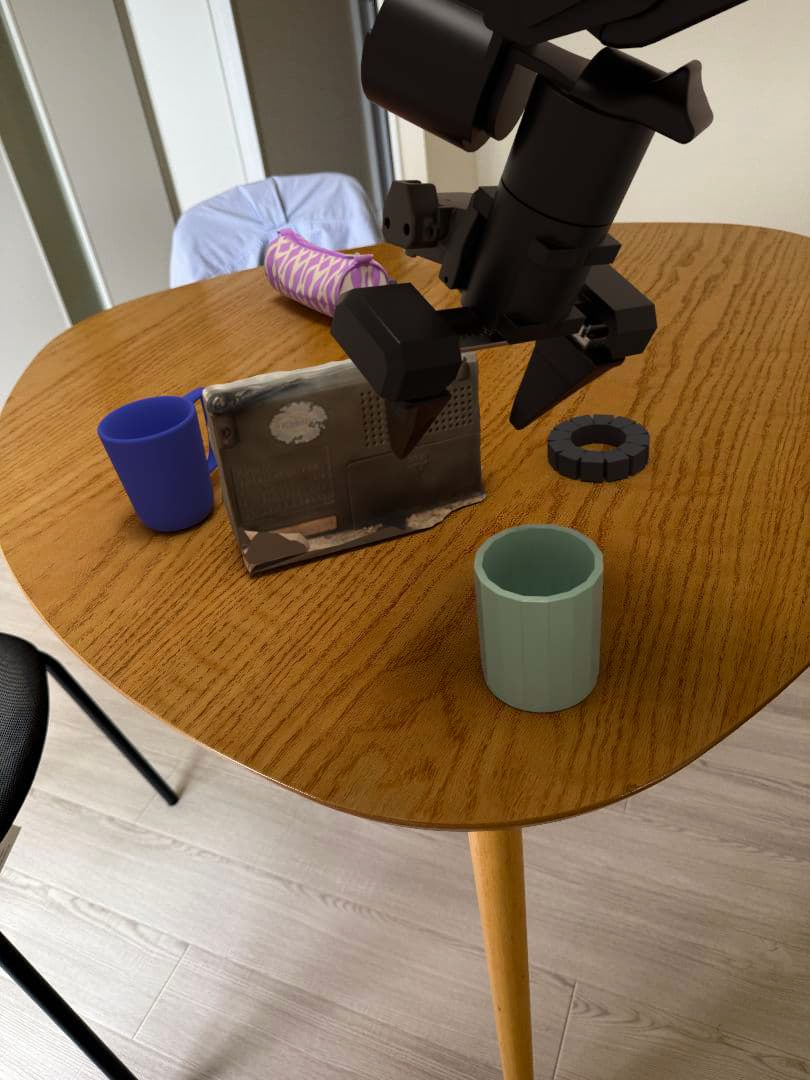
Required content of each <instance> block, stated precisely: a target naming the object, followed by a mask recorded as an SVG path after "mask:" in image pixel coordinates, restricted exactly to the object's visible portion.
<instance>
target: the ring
mask: <svg viewBox="0 0 810 1080" xmlns="http://www.w3.org/2000/svg"><path fill="white" fill-rule="evenodd" d="M546 441H547V444H546V445H547V446H546V447H547V448H546V449H547V450H546V451H547V452H546V453H547V462H548V463H549V465H551V467H552V469H553V470H554V471H555V472H557V471H558V473H559V474H560V475H563V476H565V477H567V478H570V479H573V480H574V481H575V480H577V479H579V480H580V481H581V482H590V483H591V482H593V483H603V482H604V479H605V481H606V482H609V483H610V482H614V481H619V480H623V479H627V478H629V476H632V477H633V476H635V475H636V474H637V473H639V472H640V471H642V470H643V469H644V468H646V465H648V461H649V453H650V444H651V443H650V442H651V434H650V432H649V431H648V430H647V429H646V428H645V427H644V425H642V424H641V423H639V422H637V420H634V419H631V418H628V417H626V416H625V417H624V416H622V415H618V416H616V417H615V415H614V414H600V413H594V414H593V415H592V416H591V415H590V414H589V413H587V414H584V415H578V416H574V417H570V418H569V420H567V419H565V420H563V421H561V422H559V423H558V424H556V425H555V426H553V428H552V429H550V431H549V434H548V436H547V440H546ZM594 443H595V444H596V443H597V444H609V445H611V446H614V447H615V448H612V449H607V450H606V449H605V450H589V449H588V450H587V449H585V448H582V447H581V446H584V445H589V444H594Z"/></svg>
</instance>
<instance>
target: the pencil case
mask: <svg viewBox="0 0 810 1080" xmlns="http://www.w3.org/2000/svg"><path fill="white" fill-rule="evenodd" d="M276 233H277V235H280V236H278V237H276V238H274V239H272V240H271V241H270V242H269V244H268V245H267V248H266V249H265V254H264V261H263V270H264V274H265V277H266V280H267V282H268V283H269V286H270V287H271V288H273V290H274V291H276V292H277V293H279V294H281V295H282V296H284V297H287V298H289V299H291V300H293V301H294V302H297V303H299V304H301V305H303V306H305V307H308V308H309V309H312V310H313V311H316V312H318V313H321V314H323V315H324V316H327V317H329V318H333V316H334V311H335V307H336V304H337V302H338V300H339V297H340V295H341V294H342V293H344V292H347V291H349V290H351V289H353V288H362V287H371V286H381V285H390V284H398V280H397V279H393V278H392V279H391V278H390V276H389V274H388V272H387V271H386V269H385V268H384V267H383V266H382V264H380V263H379V262H378V261H376V260H374V254H373V253H371V254H370V253H369V254H361V253H360V252H355V253H354V254H353V253H351V254H349V253H343V252H340V251H337V250H329V249H327V248H324V247H322V246H321V245H316V244H314V243H312V242H311V241H310V240H309V239H307V238H305V237H304V236H302V235H301V234H299V233H297V232H295V231H294V230H293V229H292V228H291V227H287V228H283V229H280V230H277V231H276Z"/></svg>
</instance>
